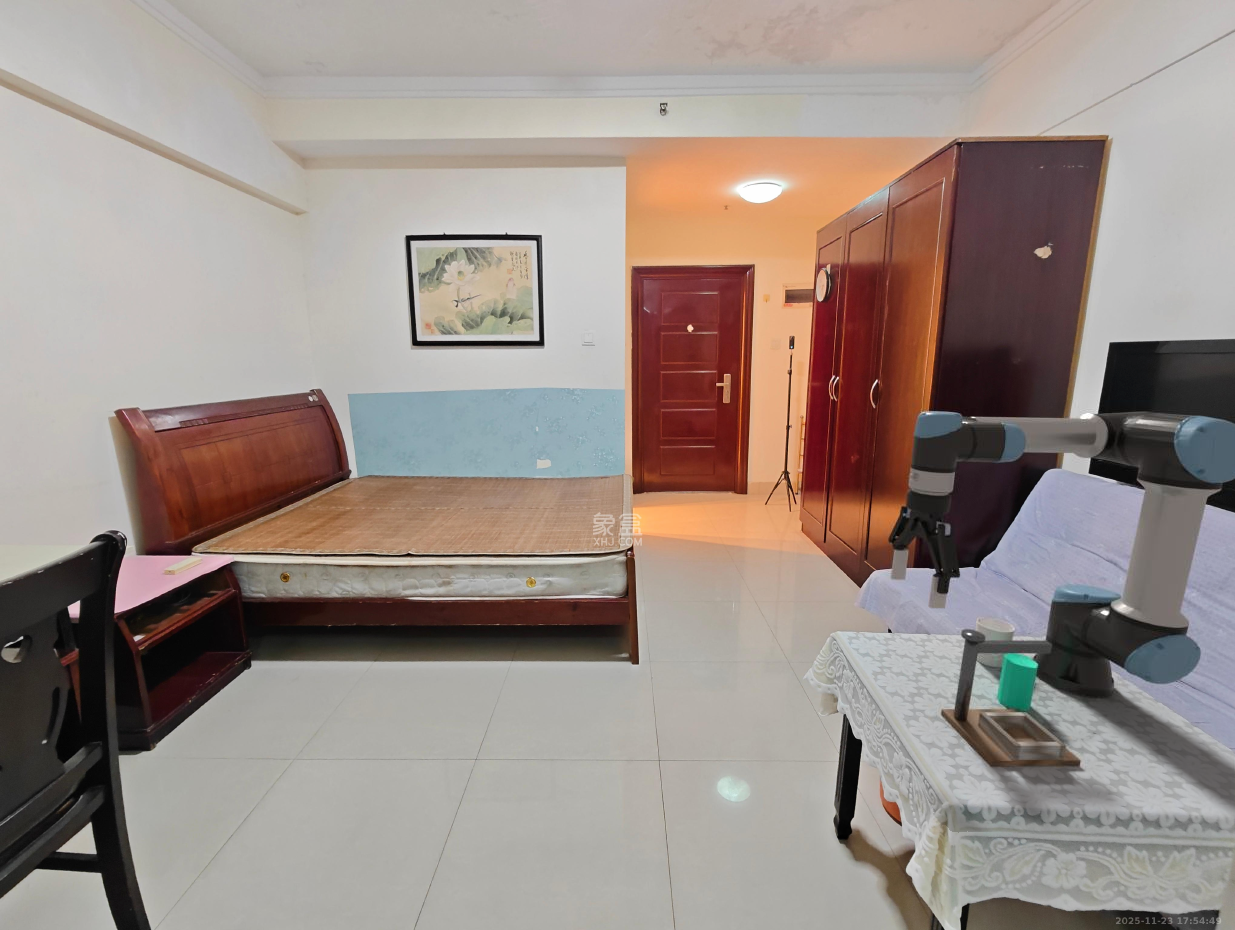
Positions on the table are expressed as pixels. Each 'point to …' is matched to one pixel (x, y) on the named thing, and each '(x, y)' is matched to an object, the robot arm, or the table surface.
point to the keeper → (971, 649)
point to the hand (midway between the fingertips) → (916, 592)
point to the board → (1011, 738)
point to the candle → (1017, 681)
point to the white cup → (994, 638)
